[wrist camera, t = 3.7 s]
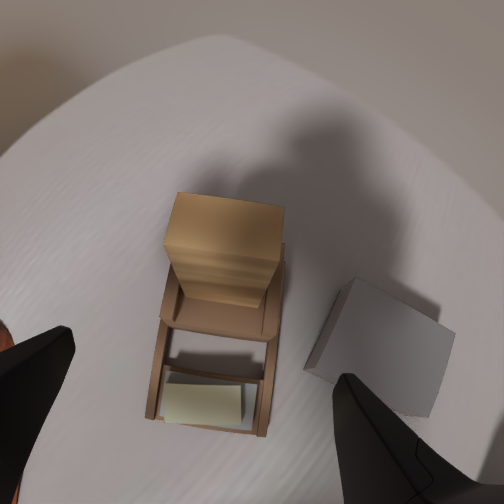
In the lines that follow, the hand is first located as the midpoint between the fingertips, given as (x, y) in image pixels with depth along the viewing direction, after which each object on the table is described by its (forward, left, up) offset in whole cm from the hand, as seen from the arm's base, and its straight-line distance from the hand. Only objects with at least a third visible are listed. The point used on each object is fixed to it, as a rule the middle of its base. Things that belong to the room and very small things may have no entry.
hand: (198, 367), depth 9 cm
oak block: (+4, -4, -9) cm, 11 cm away
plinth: (-6, -11, -12) cm, 18 cm away
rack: (+2, -2, -12) cm, 13 cm away
